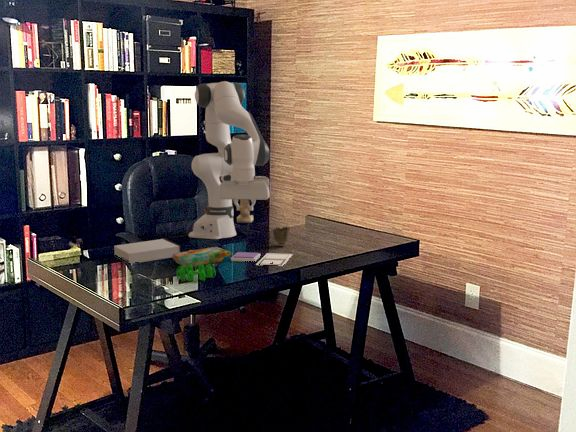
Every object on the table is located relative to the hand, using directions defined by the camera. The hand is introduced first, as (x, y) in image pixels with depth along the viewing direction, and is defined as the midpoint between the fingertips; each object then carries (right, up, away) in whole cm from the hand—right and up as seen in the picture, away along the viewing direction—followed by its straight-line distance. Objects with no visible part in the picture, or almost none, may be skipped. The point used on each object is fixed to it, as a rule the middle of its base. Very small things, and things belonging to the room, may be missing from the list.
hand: (244, 210), depth 262 cm
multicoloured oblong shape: (-17, -21, 0) cm, 27 cm away
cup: (+14, -16, +25) cm, 33 cm away
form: (+12, -20, +1) cm, 23 cm away
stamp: (0, -5, +1) cm, 5 cm away
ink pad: (0, -19, +4) cm, 20 cm away
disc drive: (-41, -19, +11) cm, 47 cm away
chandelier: (-16, -25, -22) cm, 37 cm away
